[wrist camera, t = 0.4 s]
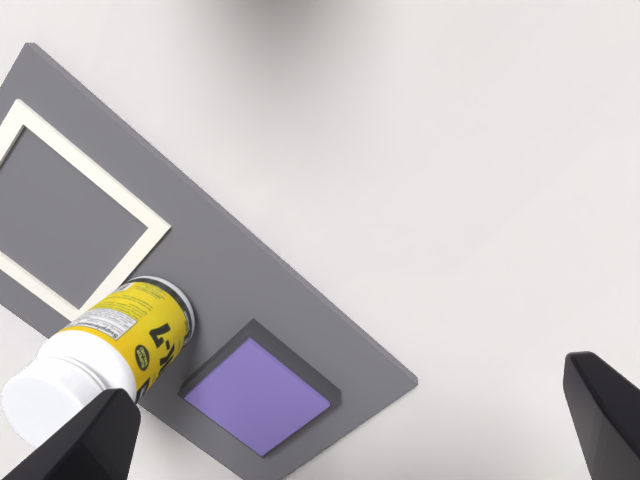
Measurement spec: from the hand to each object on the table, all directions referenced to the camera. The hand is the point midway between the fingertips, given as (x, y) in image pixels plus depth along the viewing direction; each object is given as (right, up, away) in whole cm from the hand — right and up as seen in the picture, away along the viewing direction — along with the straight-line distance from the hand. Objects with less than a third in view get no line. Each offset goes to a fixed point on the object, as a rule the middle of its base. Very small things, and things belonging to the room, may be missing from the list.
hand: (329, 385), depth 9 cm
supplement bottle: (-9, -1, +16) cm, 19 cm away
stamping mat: (-9, -1, +17) cm, 19 cm away
